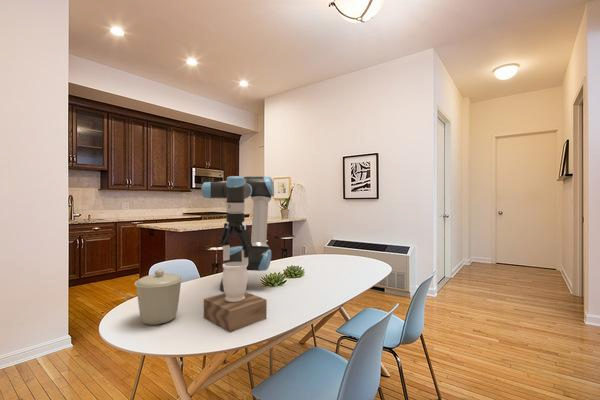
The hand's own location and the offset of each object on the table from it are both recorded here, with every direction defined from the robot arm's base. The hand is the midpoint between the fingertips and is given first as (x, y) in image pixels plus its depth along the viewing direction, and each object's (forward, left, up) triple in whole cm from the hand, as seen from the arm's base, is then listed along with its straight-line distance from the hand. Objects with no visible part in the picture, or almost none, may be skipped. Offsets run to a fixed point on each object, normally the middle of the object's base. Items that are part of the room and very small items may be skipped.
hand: (235, 262), depth 126 cm
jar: (0, 0, -16) cm, 16 cm away
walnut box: (0, 0, -24) cm, 24 cm away
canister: (-21, -23, -24) cm, 39 cm away
